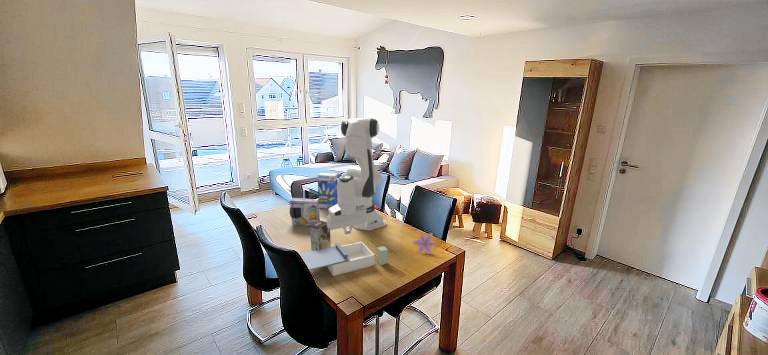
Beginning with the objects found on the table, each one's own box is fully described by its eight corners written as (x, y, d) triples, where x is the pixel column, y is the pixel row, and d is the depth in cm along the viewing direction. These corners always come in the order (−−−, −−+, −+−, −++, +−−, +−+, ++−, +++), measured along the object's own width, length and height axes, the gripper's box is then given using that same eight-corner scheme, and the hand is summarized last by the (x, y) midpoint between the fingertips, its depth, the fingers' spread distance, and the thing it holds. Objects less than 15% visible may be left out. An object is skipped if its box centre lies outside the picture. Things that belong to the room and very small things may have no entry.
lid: (338, 246, 166) (338, 241, 165) (349, 260, 152) (349, 255, 151) (296, 255, 156) (296, 250, 155) (304, 271, 142) (304, 266, 141)
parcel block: (383, 259, 166) (384, 245, 163) (387, 263, 162) (387, 249, 160) (377, 261, 164) (377, 247, 162) (380, 265, 160) (380, 251, 158)
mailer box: (361, 251, 173) (361, 241, 172) (374, 265, 160) (374, 254, 158) (323, 260, 164) (322, 250, 162) (333, 276, 150) (332, 265, 148)
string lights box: (318, 208, 234) (317, 174, 227) (321, 204, 242) (320, 172, 235) (335, 209, 232) (334, 175, 225) (338, 205, 240) (337, 173, 233)
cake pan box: (290, 224, 205) (288, 199, 200) (293, 221, 210) (291, 196, 205) (317, 227, 202) (316, 201, 197) (320, 224, 206) (319, 199, 202)
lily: (409, 250, 178) (410, 240, 171) (421, 236, 184) (422, 227, 178) (427, 262, 173) (429, 253, 166) (438, 248, 179) (440, 238, 172)
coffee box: (322, 246, 178) (321, 220, 174) (331, 249, 175) (330, 222, 171) (310, 252, 171) (309, 225, 166) (319, 256, 168) (318, 228, 163)
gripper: (363, 202, 161) (364, 226, 165) (325, 209, 151) (326, 235, 155) (369, 206, 155) (369, 231, 159) (329, 214, 146) (330, 240, 150)
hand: (347, 233), depth 157 cm, fingers closed
